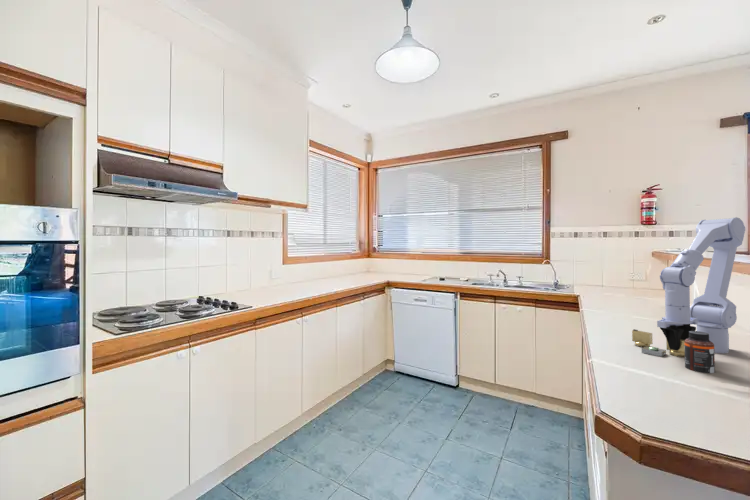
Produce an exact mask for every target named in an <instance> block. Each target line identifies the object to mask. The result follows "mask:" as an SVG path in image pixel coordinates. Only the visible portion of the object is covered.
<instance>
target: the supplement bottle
mask: <svg viewBox="0 0 750 500" xmlns="http://www.w3.org/2000/svg"><path fill="white" fill-rule="evenodd" d="M689 336H690V337H689V338H687V339H685V342H684V343H685V357H684V367H685V368H686V370H689V371H692V372H697V373H701V374H702V373H703V374H714V373H716V367H715V366H716V363H715V360H716V359H715V358H716V357H715V354H716V353H714V343H713V342H711V341H710V340H709V334H708V333H706V332H700V331H697V330H695V331H689Z"/></svg>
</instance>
